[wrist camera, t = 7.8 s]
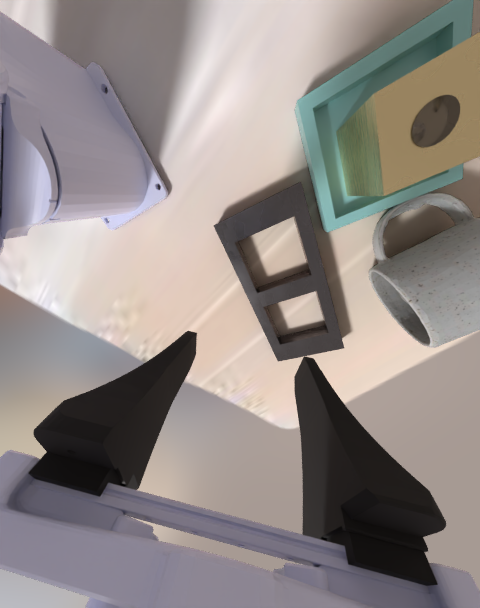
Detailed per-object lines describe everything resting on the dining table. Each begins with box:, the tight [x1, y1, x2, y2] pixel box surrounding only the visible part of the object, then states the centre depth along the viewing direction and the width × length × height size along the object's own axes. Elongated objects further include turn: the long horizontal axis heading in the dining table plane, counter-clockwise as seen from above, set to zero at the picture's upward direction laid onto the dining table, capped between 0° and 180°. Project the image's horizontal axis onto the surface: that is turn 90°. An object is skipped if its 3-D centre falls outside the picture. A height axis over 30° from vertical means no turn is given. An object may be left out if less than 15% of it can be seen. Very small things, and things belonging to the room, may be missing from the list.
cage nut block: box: [336, 32, 480, 196], centre depth 11 cm, size 4×4×6 cm
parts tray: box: [295, 0, 473, 232], centre depth 13 cm, size 9×9×2 cm
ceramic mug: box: [369, 193, 480, 347], centre depth 14 cm, size 11×8×8 cm
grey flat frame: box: [214, 182, 344, 361], centre depth 20 cm, size 18×8×2 cm, turn 25°
